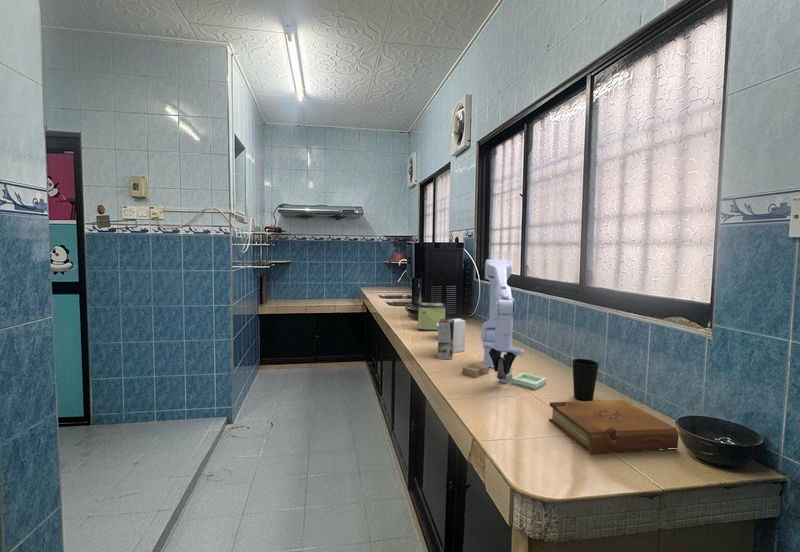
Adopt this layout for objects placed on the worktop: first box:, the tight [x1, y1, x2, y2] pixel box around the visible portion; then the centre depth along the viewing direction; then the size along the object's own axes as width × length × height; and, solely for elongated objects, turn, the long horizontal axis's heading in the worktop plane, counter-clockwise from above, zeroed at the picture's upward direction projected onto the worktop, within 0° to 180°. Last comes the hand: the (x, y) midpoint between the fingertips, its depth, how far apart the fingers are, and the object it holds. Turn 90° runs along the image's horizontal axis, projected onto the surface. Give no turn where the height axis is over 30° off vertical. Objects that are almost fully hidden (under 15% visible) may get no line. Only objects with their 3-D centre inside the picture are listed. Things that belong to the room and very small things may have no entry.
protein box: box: [417, 302, 446, 332], centre depth 229 cm, size 10×16×16 cm
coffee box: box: [437, 318, 454, 361], centre depth 171 cm, size 9×6×16 cm
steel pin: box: [496, 357, 507, 380], centre depth 135 cm, size 3×3×7 cm
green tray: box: [510, 372, 547, 391], centre depth 139 cm, size 9×9×2 cm
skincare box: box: [451, 317, 466, 353], centre depth 182 cm, size 8×6×15 cm
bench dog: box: [498, 367, 513, 385], centre depth 140 cm, size 4×3×5 cm
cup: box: [572, 358, 599, 401], centre depth 126 cm, size 8×8×12 cm
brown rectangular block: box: [461, 362, 490, 379], centre depth 149 cm, size 9×6×3 cm, turn 136°
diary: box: [548, 399, 680, 455], centre depth 101 cm, size 23×19×6 cm
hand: (501, 372), depth 135 cm, fingers closed on steel pin, 3 cm apart
